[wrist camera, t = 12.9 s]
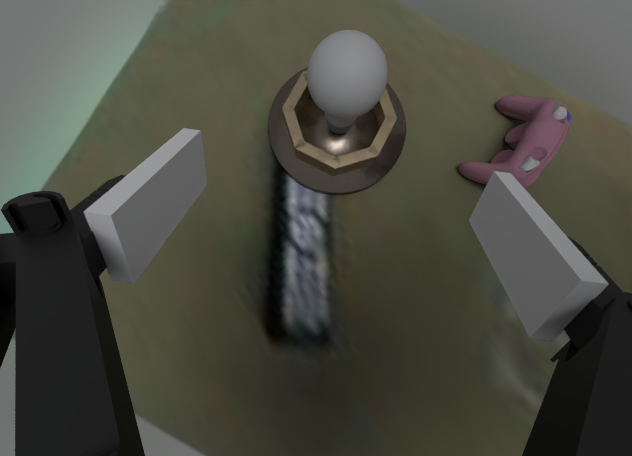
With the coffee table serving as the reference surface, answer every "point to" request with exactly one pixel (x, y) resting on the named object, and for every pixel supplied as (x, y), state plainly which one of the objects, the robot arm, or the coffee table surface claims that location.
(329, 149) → the socket
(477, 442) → the coffee table surface
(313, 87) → the lightbulb
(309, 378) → the coffee table surface
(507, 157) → the video game controller
